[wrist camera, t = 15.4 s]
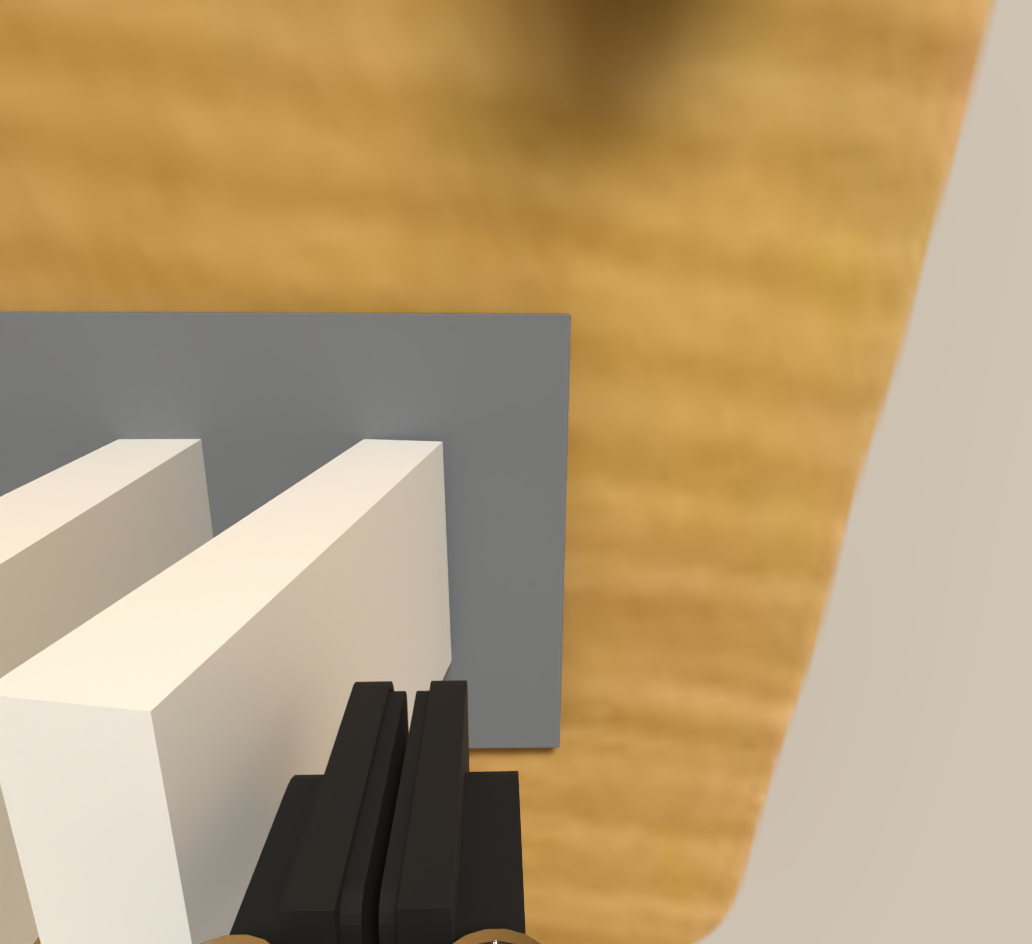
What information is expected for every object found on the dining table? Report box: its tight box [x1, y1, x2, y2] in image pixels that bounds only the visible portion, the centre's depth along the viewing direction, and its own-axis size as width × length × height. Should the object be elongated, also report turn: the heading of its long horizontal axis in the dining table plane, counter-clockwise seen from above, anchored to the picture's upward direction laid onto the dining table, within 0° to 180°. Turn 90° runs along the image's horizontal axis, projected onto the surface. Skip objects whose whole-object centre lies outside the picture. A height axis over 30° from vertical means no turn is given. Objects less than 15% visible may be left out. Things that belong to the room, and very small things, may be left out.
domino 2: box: [0, 439, 452, 944], centre depth 13 cm, size 2×6×11 cm, turn 1°
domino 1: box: [0, 439, 213, 944], centre depth 13 cm, size 2×6×11 cm, turn 0°
